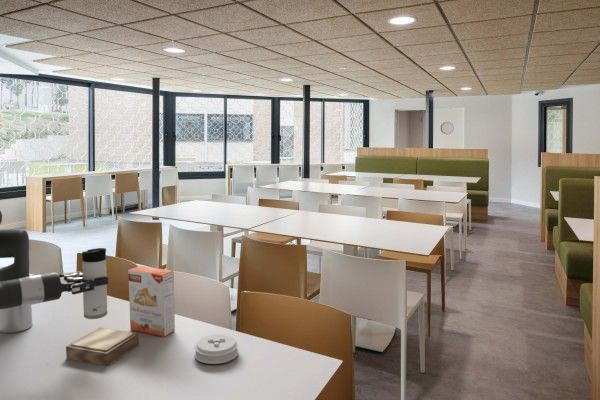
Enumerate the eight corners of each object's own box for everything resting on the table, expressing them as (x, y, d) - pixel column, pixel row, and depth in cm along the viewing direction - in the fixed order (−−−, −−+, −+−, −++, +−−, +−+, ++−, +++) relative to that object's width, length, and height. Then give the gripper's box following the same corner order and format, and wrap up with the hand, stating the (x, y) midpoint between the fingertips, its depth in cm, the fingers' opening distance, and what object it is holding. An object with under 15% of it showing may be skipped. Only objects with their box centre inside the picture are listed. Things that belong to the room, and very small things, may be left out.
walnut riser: (66, 358, 128) (65, 345, 128) (100, 338, 142) (100, 326, 141) (107, 365, 124) (106, 352, 124) (138, 344, 138) (138, 332, 137)
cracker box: (129, 330, 148) (127, 269, 145) (142, 324, 153) (140, 264, 150) (163, 338, 142) (162, 274, 140) (175, 331, 148) (174, 269, 145)
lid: (245, 350, 135) (245, 334, 135) (225, 370, 123) (225, 353, 123) (209, 343, 139) (208, 328, 139) (185, 362, 128) (185, 345, 127)
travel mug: (99, 320, 126) (97, 251, 124) (78, 318, 128) (76, 249, 125) (112, 312, 132) (111, 246, 130) (93, 310, 134) (91, 245, 131)
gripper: (45, 281, 113) (112, 270, 125) (31, 269, 124) (94, 259, 135) (46, 309, 114) (113, 295, 126) (33, 295, 125) (95, 283, 136)
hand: (103, 277), depth 130 cm, fingers closed on travel mug, 6 cm apart
